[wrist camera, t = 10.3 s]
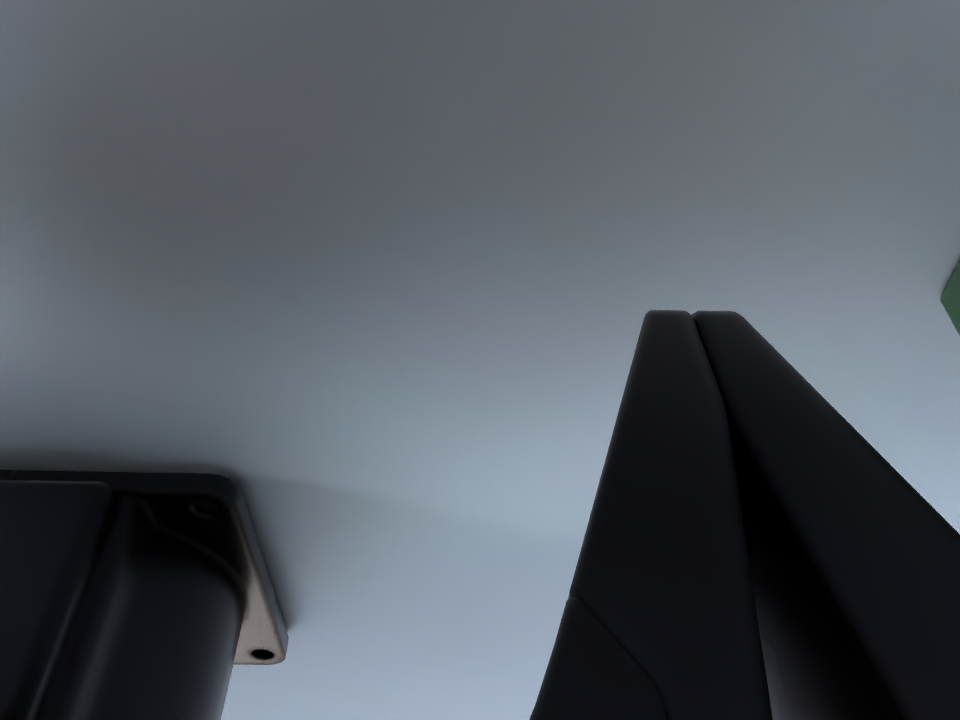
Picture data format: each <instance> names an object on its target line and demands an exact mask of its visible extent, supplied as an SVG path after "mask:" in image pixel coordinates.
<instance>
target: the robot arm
mask: <svg viewBox="0 0 960 720" xmlns="http://www.w3.org/2000/svg"><path fill="white" fill-rule="evenodd" d="M287 645H288V634H287V631H286V628H285V625H284V622H283V619H282V616H281V612H280V609H279V606H278V603H277V600H276V597H275V594H274V590H273V587H272V584H271V581H270V578H269V575H268V572H267V568H266V565H265V562H264V559H263V556H262V553H261V550H260V546H259V543H258V540H257V537H256V534H255V531H254V528H253V524H252V521H251V518H250V515H249V512H248V509H247V506H246V502H245V499H244V496H243V493H242V491H241V489H240V488H239V486H238V485H237V484H236V483H234V482H233V481H232V480H230V479H228V478H225V477H223V476H220V475H214V474H196V473H136V472H75V471H15V470H0V720H221V716H222V712H223V707H224V703H225V698H226V694H227V689H228V685H229V680H230V676H231V672H232V667H233V664H253V665H270V664H277V663H280V662H282V661H283V660H284V659H285V656H286V651H287ZM529 720H960V534H959V533H958V532H957V531H956V530H955V529H954V528H953V527H952V526H951V525H950V524H949V523H948V522H947V521H946V520H945V519H944V518H943V517H942V516H941V515H940V514H939V513H938V512H937V511H936V510H935V509H934V508H933V507H932V506H931V505H930V504H929V503H928V502H927V501H926V500H925V499H924V498H923V497H922V496H921V495H920V494H919V493H918V492H917V491H916V490H915V489H914V488H913V487H912V486H911V485H910V484H909V483H908V482H907V481H906V480H905V479H904V478H903V477H902V476H901V475H900V474H899V473H898V472H897V471H896V470H895V469H894V468H893V467H892V466H891V465H890V464H889V463H888V462H887V461H886V460H885V459H884V458H883V457H882V456H881V455H880V454H879V453H878V452H877V451H876V450H875V449H874V448H873V447H872V446H871V445H870V444H869V443H868V442H867V441H866V440H865V439H864V438H863V437H862V436H861V435H860V434H859V433H858V432H857V431H856V430H855V429H854V428H853V427H852V426H851V425H850V424H849V423H848V422H847V421H846V420H845V419H844V418H843V417H842V416H841V415H840V414H839V413H838V412H837V411H836V410H835V409H834V408H833V407H832V406H831V405H830V404H829V403H828V402H827V401H826V400H825V399H824V398H823V397H822V396H821V395H820V394H819V393H818V392H817V391H816V390H815V389H814V388H813V387H812V386H811V385H810V384H809V383H808V382H807V381H806V380H805V379H804V378H803V377H802V376H801V375H800V374H799V373H798V372H797V371H796V370H795V369H794V368H793V367H792V366H791V365H790V364H789V363H788V362H787V361H786V360H785V359H784V358H783V357H782V356H781V355H780V354H779V353H778V352H777V351H776V350H775V349H774V348H773V347H772V346H771V345H770V344H769V343H768V342H767V341H766V340H765V339H764V338H763V337H762V336H761V335H760V334H759V333H758V332H757V331H756V330H755V329H754V328H753V327H752V326H751V325H750V324H749V323H748V321H747V320H746V319H745V318H744V317H742V316H741V315H740V314H738V313H736V312H732V311H697V312H695V313H693V314H692V315H691V314H690V313H688V312H687V311H683V310H650V311H648V312H647V313H646V315H645V317H644V320H643V324H642V328H641V331H640V335H639V339H638V342H637V346H636V350H635V353H634V357H633V361H632V364H631V368H630V372H629V375H628V379H627V383H626V386H625V390H624V394H623V397H622V401H621V405H620V408H619V412H618V416H617V419H616V423H615V427H614V431H613V434H612V438H611V442H610V445H609V449H608V453H607V456H606V460H605V464H604V467H603V471H602V475H601V478H600V482H599V486H598V489H597V493H596V497H595V500H594V504H593V508H592V511H591V515H590V519H589V522H588V526H587V530H586V533H585V537H584V541H583V544H582V548H581V552H580V555H579V559H578V563H577V566H576V570H575V574H574V577H573V581H572V585H571V588H570V593H569V599H568V600H567V602H566V605H565V608H564V612H563V616H562V619H561V623H560V627H559V630H558V634H557V638H556V641H555V645H554V648H553V651H552V654H551V657H550V660H549V664H548V667H547V670H546V673H545V676H544V679H543V683H542V686H541V689H540V692H539V695H538V698H537V702H536V704H535V707H534V709H533V712H532V714H531V717H530V719H529Z"/></svg>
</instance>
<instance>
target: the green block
mask: <svg viewBox="0 0 960 720" xmlns="http://www.w3.org/2000/svg"><path fill="white" fill-rule="evenodd" d="M941 303H942V304H943V306H944V308H945V310H946V312H947V313H948V315H949V317H950V319H951V321H952V322H953V324H954V326H955V328H956V330H957V331H958V333H959V335H960V262H959V264H958V265H957V267H956V269H955V271H954V273H953V275H952V277H951V279H950V281H949V283H948V284H947V286H946V288H945V290H944V292H943V294H942V296H941Z"/></svg>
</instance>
